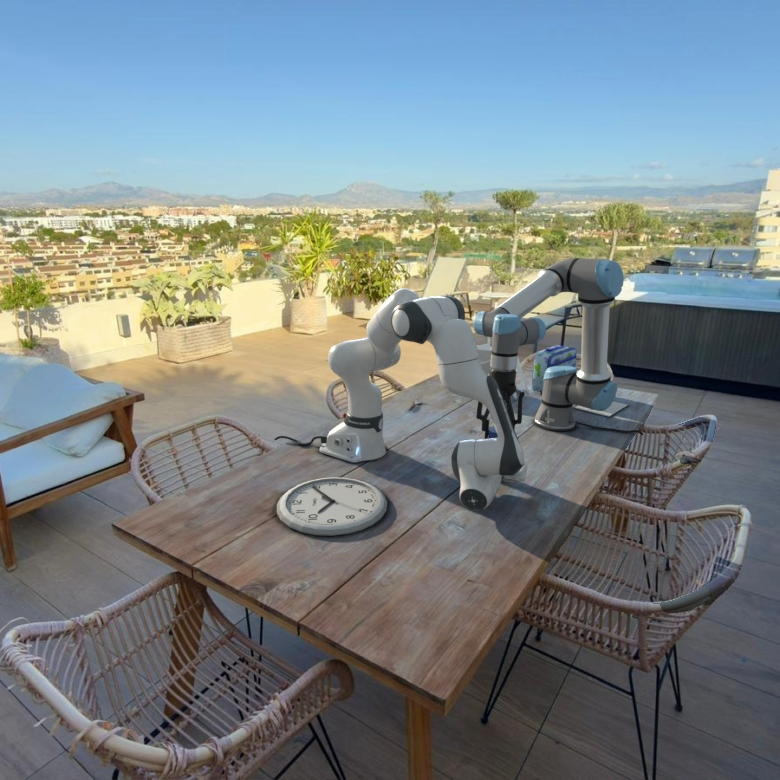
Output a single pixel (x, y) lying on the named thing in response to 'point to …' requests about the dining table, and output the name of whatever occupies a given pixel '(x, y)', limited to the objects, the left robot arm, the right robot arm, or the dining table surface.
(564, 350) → the lunch box
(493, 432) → the lid
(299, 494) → the wall clock
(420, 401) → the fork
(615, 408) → the invitation card
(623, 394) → the dining table surface
